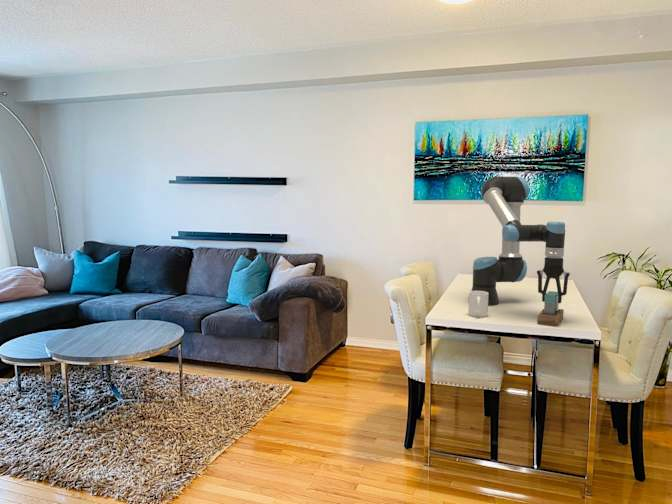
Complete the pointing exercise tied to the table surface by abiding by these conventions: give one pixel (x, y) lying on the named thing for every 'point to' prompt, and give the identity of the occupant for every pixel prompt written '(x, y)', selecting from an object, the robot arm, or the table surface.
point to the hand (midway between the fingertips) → (551, 309)
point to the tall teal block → (550, 303)
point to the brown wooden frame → (550, 318)
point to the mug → (478, 303)
